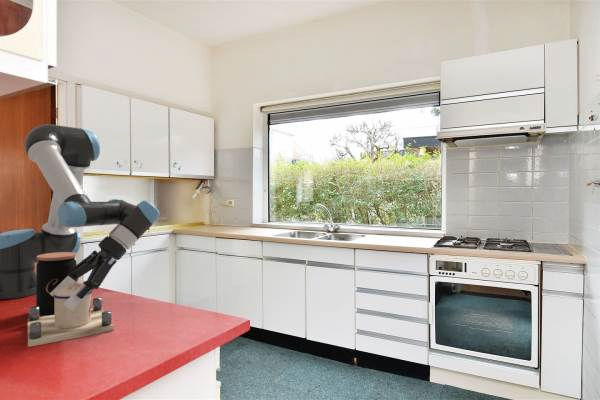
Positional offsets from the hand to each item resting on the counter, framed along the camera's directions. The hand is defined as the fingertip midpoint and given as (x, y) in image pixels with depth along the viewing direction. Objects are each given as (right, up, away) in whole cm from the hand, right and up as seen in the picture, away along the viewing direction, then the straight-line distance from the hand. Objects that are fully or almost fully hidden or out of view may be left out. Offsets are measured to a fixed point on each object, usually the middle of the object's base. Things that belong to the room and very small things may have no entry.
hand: (60, 302), depth 101 cm
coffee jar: (-11, -7, +16) cm, 21 cm away
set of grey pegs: (+2, -6, +2) cm, 7 cm away
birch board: (+2, -8, +2) cm, 8 cm away
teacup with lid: (+2, -6, +2) cm, 7 cm away
